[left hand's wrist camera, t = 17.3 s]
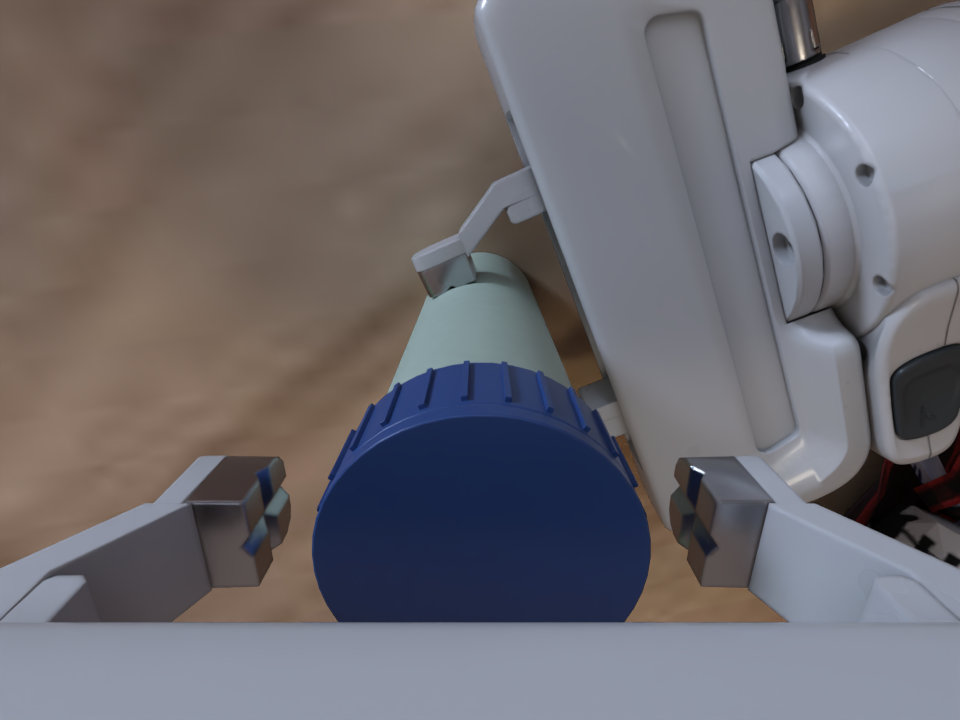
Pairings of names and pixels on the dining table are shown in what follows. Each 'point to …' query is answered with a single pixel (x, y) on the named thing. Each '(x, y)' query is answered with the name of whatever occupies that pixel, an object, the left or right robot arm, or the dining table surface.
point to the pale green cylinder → (483, 326)
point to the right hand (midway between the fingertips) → (458, 354)
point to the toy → (917, 504)
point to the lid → (481, 506)
